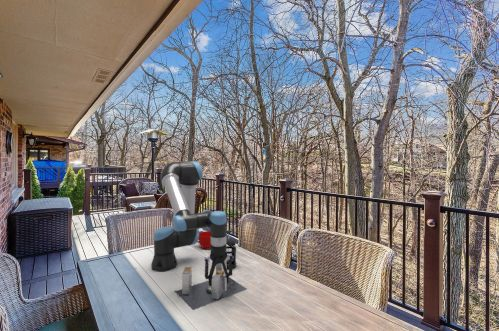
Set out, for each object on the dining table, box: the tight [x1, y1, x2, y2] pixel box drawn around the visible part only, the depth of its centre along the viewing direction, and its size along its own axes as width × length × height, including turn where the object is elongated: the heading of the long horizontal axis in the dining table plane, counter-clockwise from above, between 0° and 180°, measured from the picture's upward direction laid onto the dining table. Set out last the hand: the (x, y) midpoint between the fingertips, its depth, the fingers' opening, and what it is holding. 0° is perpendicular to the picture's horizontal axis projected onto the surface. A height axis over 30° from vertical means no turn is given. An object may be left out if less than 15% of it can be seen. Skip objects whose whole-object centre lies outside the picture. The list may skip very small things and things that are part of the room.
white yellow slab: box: [215, 258, 228, 276], centre depth 150 cm, size 3×7×10 cm, turn 163°
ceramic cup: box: [197, 230, 211, 250], centre depth 203 cm, size 13×17×10 cm
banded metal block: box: [212, 270, 224, 299], centre depth 134 cm, size 3×7×10 cm, turn 163°
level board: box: [174, 276, 248, 311], centre depth 139 cm, size 20×30×3 cm, turn 128°
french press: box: [226, 229, 237, 271], centre depth 167 cm, size 12×9×23 cm
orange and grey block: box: [181, 266, 193, 294], centre depth 138 cm, size 3×7×10 cm, turn 1°
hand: (218, 290), depth 135 cm, fingers closed on banded metal block, 6 cm apart
